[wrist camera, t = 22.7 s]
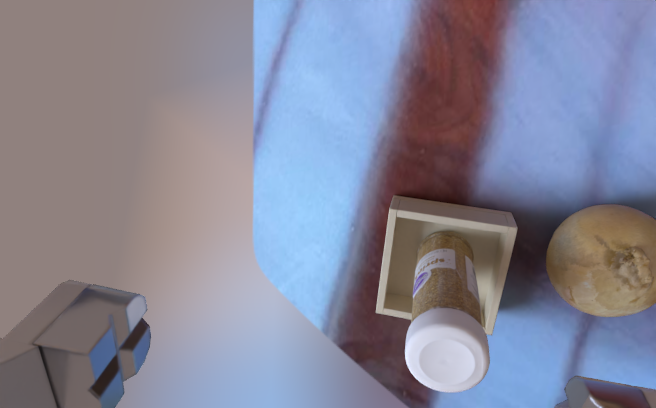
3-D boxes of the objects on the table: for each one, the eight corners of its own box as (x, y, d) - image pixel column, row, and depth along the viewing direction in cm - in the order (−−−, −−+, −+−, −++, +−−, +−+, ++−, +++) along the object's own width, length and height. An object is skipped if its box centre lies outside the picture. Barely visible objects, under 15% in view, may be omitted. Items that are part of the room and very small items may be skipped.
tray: (380, 292, 41) (375, 312, 38) (393, 194, 37) (389, 208, 34) (488, 312, 39) (492, 335, 36) (511, 212, 36) (518, 228, 33)
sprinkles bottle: (425, 222, 37) (418, 314, 24) (482, 239, 36) (504, 342, 24) (409, 270, 38) (394, 379, 26) (463, 287, 38) (473, 407, 26)
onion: (673, 264, 34) (727, 317, 28) (566, 305, 37) (593, 361, 31) (625, 175, 33) (671, 208, 27) (519, 224, 36) (537, 265, 29)
